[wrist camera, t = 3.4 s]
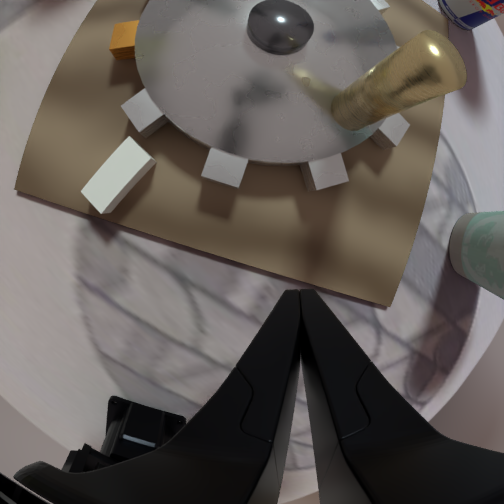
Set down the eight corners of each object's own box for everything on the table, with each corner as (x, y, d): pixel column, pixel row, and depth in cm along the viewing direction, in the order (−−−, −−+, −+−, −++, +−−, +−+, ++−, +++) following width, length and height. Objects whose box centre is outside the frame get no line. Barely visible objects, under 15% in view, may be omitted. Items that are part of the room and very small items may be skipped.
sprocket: (365, 236, 20) (485, 270, 9) (73, 142, 16) (-36, 101, 6) (413, 18, 17) (487, -33, 7) (193, -62, 14) (193, -146, 3)
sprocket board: (387, 305, 22) (390, 307, 21) (17, 189, 17) (14, 189, 16) (446, 20, 18) (448, 19, 18) (171, -80, 13) (171, -82, 13)
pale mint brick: (110, 212, 18) (101, 213, 16) (91, 191, 17) (80, 191, 15) (156, 161, 18) (151, 157, 16) (136, 141, 17) (129, 135, 15)
